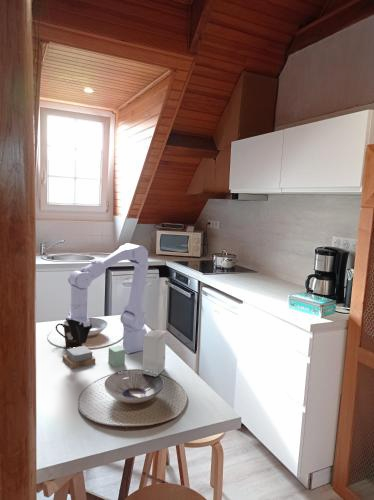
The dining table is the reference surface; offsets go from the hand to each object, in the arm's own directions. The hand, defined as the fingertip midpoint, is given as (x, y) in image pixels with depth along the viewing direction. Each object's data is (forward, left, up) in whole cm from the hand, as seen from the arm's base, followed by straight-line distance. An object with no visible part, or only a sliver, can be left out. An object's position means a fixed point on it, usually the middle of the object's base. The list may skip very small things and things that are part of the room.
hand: (78, 339), depth 135 cm
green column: (-12, +7, -10) cm, 17 cm away
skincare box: (-20, +20, -10) cm, 30 cm away
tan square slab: (-1, -2, -10) cm, 10 cm away
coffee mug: (-5, -19, -10) cm, 22 cm away
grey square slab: (-1, -2, -8) cm, 8 cm away
